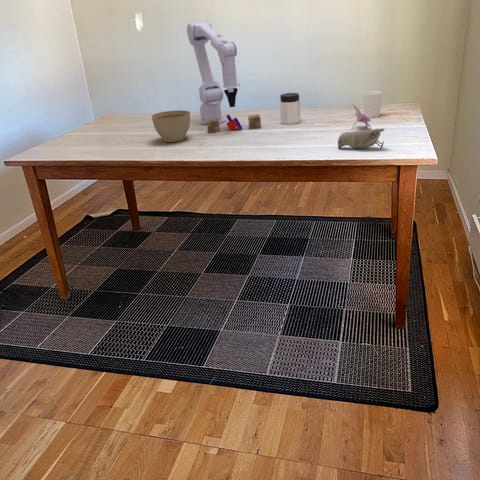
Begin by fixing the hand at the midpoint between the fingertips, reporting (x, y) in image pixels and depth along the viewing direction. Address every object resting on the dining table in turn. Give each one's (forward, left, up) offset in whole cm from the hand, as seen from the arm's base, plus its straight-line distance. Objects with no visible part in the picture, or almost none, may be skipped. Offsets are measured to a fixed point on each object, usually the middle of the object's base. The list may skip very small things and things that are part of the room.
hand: (232, 106), depth 214 cm
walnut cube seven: (-8, -5, -10) cm, 13 cm away
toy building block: (0, 0, -10) cm, 10 cm away
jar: (+19, +17, -10) cm, 27 cm away
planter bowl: (-17, -21, -10) cm, 29 cm away
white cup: (+50, +34, -10) cm, 61 cm away
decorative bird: (+62, -14, -10) cm, 65 cm away
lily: (+53, +12, -10) cm, 55 cm away
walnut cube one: (+8, +5, -10) cm, 13 cm away
